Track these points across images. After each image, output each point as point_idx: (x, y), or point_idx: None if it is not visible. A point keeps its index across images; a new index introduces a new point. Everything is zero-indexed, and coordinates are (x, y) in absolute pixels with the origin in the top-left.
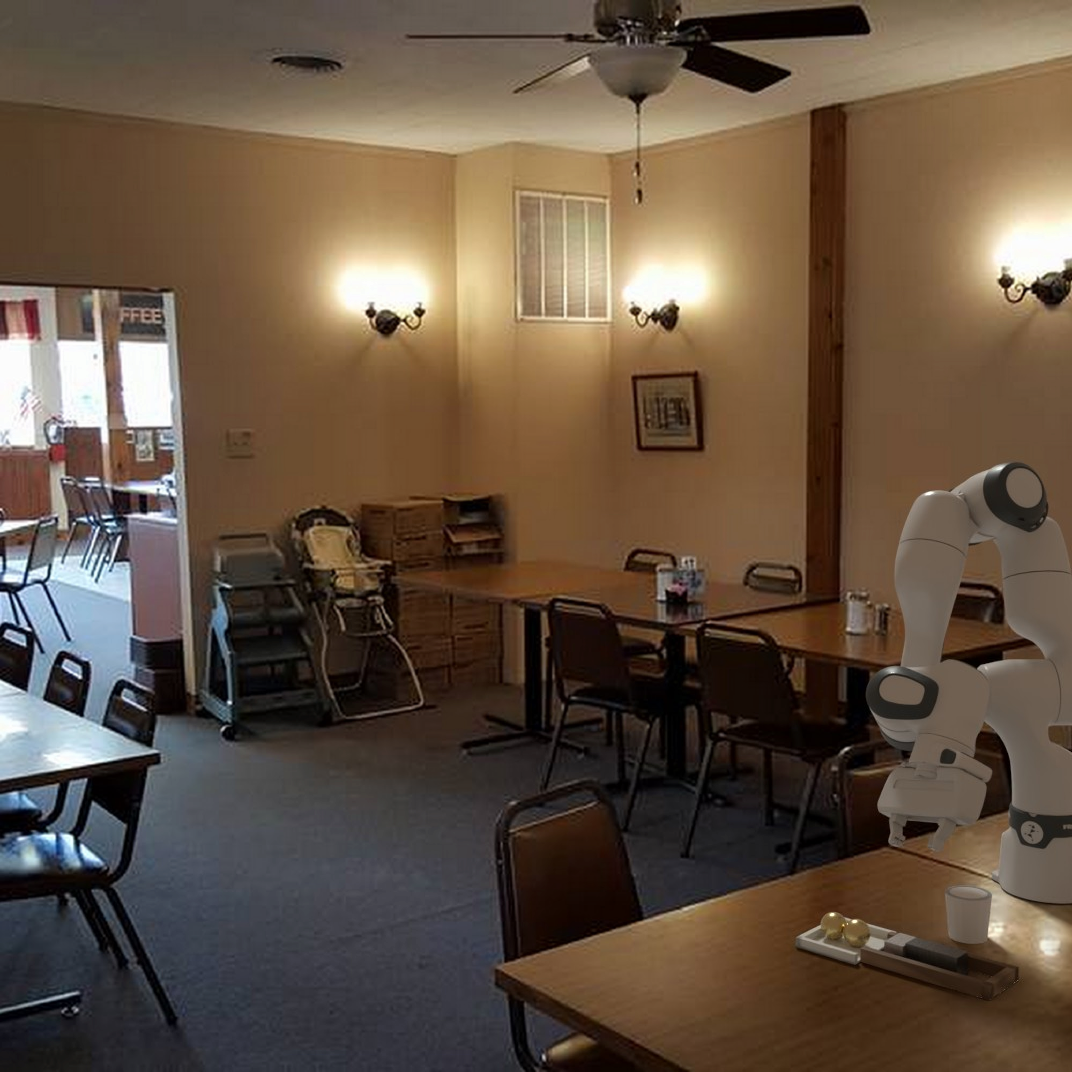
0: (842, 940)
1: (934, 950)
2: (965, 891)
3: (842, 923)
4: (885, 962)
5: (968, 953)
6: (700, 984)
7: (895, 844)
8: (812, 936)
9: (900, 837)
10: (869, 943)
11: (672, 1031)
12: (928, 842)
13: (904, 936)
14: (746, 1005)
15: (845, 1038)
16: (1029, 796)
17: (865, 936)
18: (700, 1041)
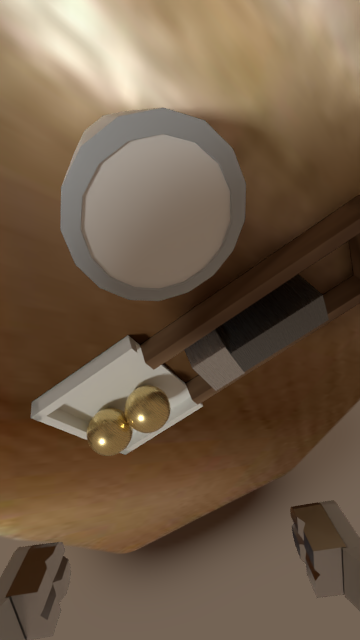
0: (117, 404)
1: (288, 342)
2: (142, 228)
3: (129, 431)
4: None
5: (287, 270)
6: (191, 483)
7: (67, 563)
8: None
9: (48, 596)
10: (137, 375)
11: (254, 480)
12: (304, 561)
13: (210, 365)
14: (241, 458)
15: (324, 408)
16: None
17: (169, 401)
18: (274, 469)
